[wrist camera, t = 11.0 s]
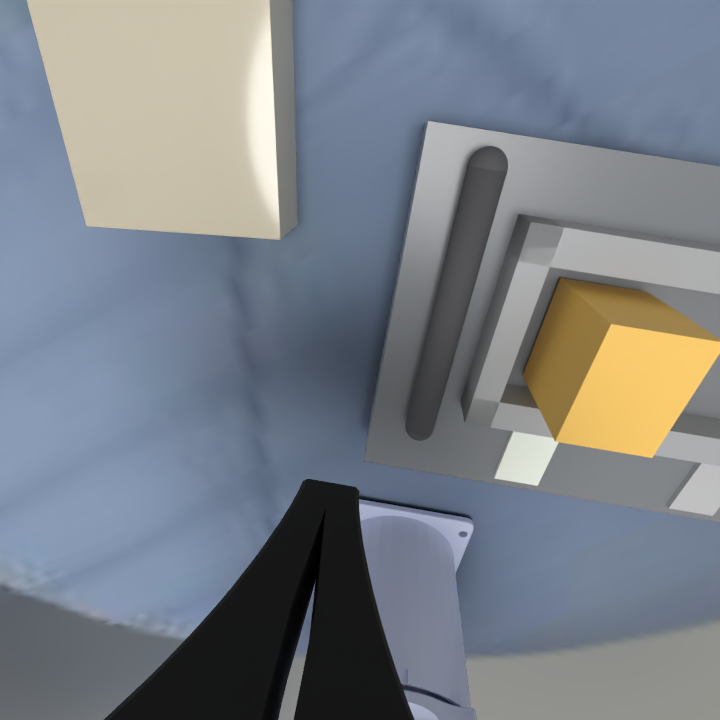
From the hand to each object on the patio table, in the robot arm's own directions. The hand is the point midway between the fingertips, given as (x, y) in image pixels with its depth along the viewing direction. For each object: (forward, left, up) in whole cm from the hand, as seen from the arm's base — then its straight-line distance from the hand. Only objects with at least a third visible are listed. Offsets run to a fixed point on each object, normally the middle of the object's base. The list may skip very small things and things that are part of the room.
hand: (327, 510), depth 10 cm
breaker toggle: (+3, -8, -7) cm, 11 cm away
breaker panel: (+2, -12, -10) cm, 16 cm away
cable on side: (+3, -3, -7) cm, 9 cm away
